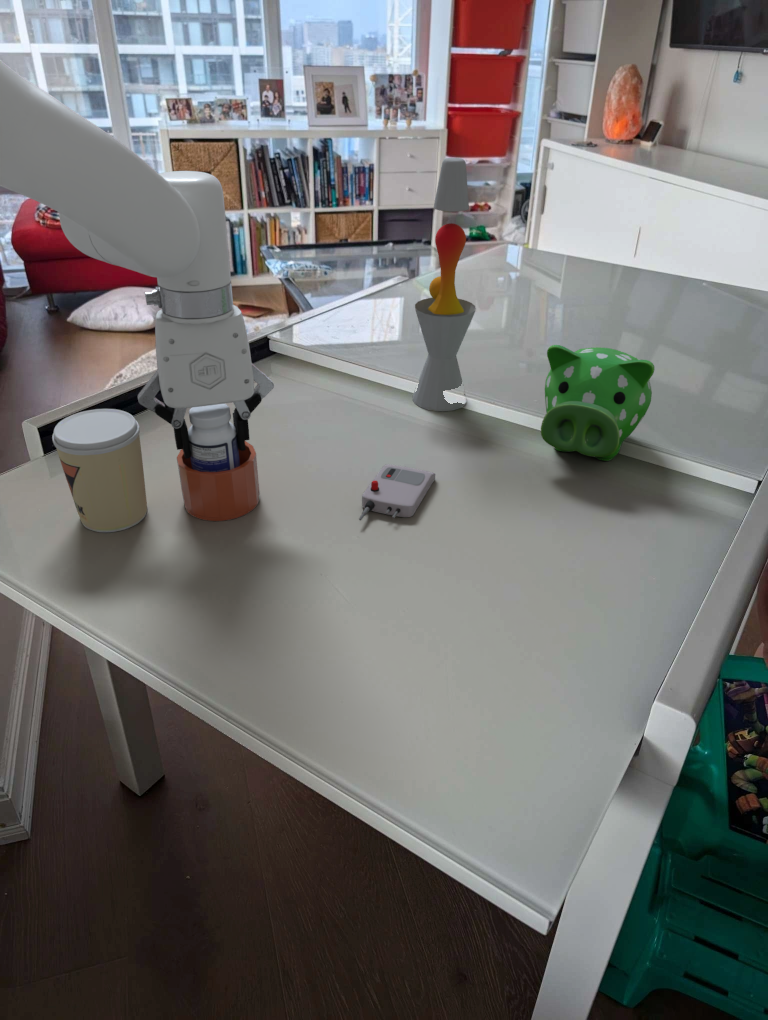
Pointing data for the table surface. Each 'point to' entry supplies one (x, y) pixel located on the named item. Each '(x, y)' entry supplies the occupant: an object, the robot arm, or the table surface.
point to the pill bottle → (212, 439)
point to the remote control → (397, 491)
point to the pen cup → (220, 488)
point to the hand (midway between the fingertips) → (213, 448)
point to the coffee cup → (103, 467)
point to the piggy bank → (594, 399)
